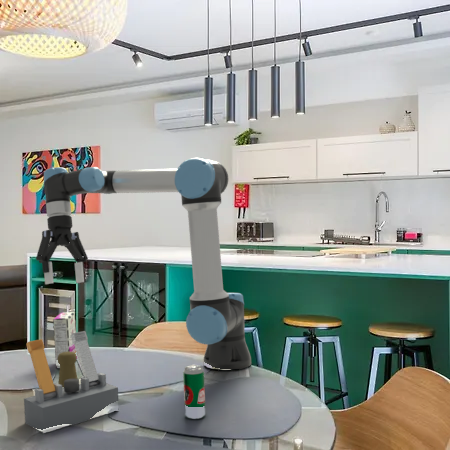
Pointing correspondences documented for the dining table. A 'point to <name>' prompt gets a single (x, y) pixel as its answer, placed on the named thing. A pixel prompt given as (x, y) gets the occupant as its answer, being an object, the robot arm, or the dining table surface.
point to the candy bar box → (64, 333)
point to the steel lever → (85, 357)
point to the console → (69, 404)
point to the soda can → (194, 386)
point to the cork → (67, 367)
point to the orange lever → (41, 368)
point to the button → (71, 385)
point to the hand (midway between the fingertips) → (65, 283)
